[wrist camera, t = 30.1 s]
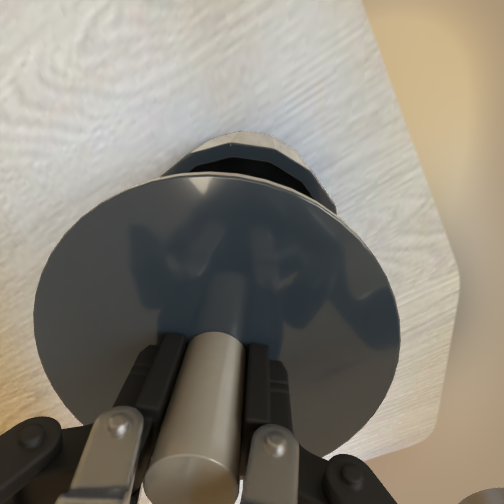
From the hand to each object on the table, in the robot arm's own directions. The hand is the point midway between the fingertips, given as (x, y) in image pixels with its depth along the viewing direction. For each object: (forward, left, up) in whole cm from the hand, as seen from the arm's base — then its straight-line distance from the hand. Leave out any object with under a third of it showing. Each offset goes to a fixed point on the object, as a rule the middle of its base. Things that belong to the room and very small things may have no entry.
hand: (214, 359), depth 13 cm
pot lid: (0, 0, -1) cm, 1 cm away
